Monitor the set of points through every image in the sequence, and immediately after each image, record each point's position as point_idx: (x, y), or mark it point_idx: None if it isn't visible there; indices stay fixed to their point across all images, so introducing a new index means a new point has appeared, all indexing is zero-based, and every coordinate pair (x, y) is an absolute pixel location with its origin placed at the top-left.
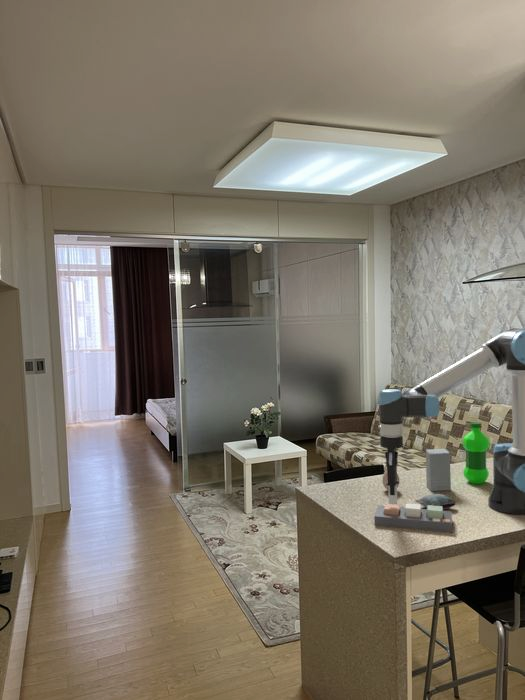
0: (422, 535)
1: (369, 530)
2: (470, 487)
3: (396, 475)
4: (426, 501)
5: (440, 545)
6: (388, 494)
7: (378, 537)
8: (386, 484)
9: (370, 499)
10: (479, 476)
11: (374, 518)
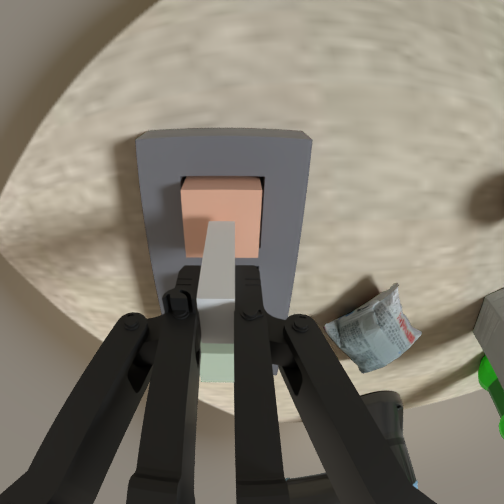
0: (123, 295)
1: (86, 124)
2: (473, 354)
3: (288, 386)
4: (362, 323)
5: (87, 326)
6: (204, 252)
7: (45, 171)
8: (162, 297)
9: (460, 110)
10: (481, 377)
11: (139, 137)
